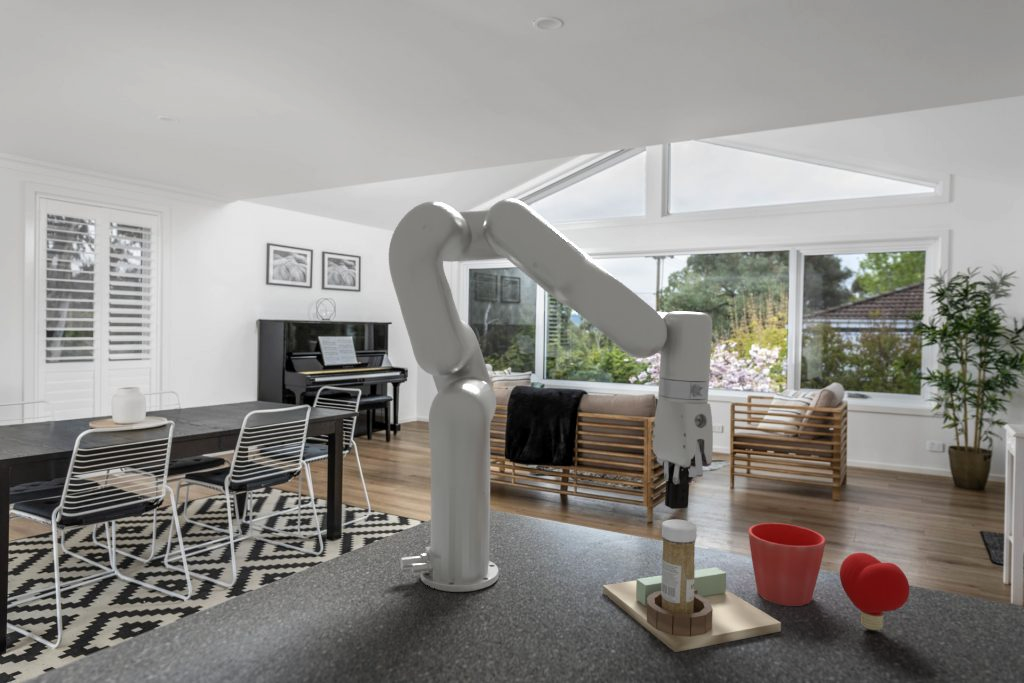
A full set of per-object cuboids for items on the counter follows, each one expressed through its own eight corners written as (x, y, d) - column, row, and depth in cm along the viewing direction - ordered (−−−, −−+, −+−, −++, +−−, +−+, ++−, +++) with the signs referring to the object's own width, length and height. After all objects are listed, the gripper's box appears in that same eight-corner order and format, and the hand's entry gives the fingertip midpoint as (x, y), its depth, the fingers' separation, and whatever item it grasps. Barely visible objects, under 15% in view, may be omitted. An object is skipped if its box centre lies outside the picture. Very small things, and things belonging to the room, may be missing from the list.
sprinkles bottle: (700, 626, 90) (703, 527, 89) (670, 630, 88) (672, 529, 88) (683, 611, 94) (685, 516, 94) (653, 615, 93) (656, 519, 92)
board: (673, 652, 85) (674, 624, 85) (601, 593, 103) (601, 569, 103) (780, 631, 91) (781, 604, 91) (695, 578, 109) (696, 556, 109)
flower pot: (832, 614, 96) (834, 548, 96) (752, 607, 99) (754, 542, 98) (814, 585, 107) (816, 525, 106) (742, 579, 109) (743, 520, 109)
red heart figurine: (824, 620, 95) (827, 550, 94) (860, 612, 97) (862, 544, 97) (884, 651, 86) (887, 575, 86) (921, 641, 89) (924, 567, 88)
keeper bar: (645, 606, 95) (645, 579, 95) (636, 599, 98) (636, 573, 97) (725, 592, 100) (726, 567, 100) (715, 586, 103) (716, 562, 102)
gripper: (734, 397, 99) (726, 520, 100) (675, 385, 113) (669, 492, 113) (691, 397, 96) (684, 523, 97) (637, 384, 110) (630, 495, 111)
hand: (676, 506), depth 105 cm, fingers closed
